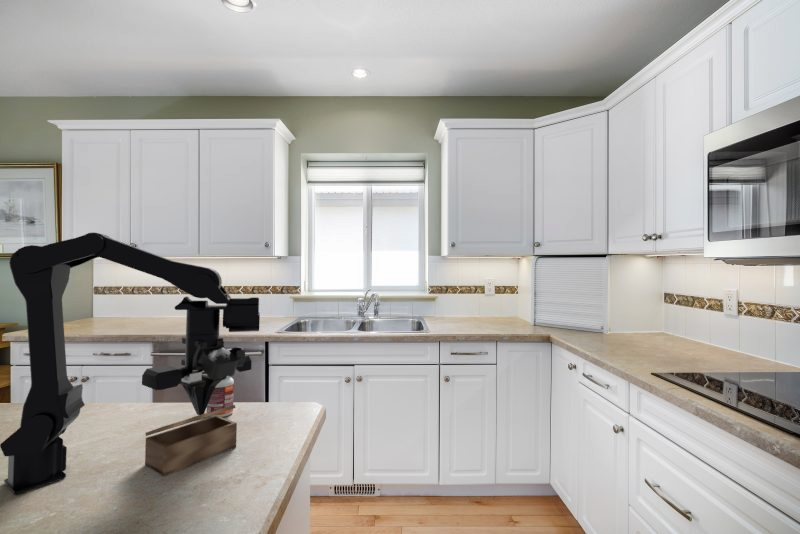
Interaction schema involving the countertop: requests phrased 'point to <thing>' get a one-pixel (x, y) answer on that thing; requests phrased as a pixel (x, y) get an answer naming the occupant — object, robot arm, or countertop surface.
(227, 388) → the pill bottle
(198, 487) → the countertop surface
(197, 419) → the lid
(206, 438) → the box
